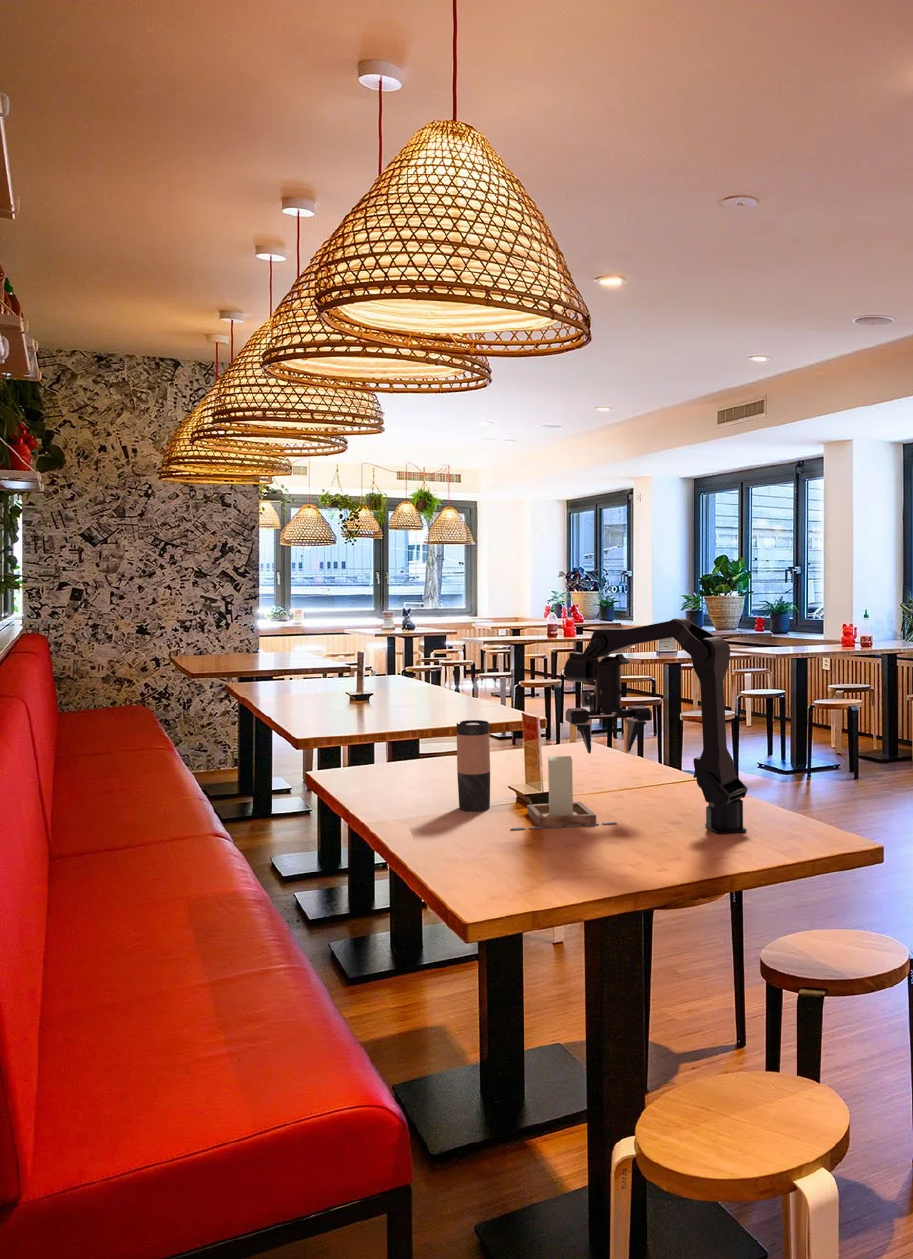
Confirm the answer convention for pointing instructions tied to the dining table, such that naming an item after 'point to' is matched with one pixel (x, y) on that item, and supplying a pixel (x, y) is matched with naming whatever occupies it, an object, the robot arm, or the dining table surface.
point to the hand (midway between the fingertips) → (608, 752)
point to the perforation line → (561, 826)
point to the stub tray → (542, 817)
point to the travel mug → (473, 765)
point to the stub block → (560, 785)
